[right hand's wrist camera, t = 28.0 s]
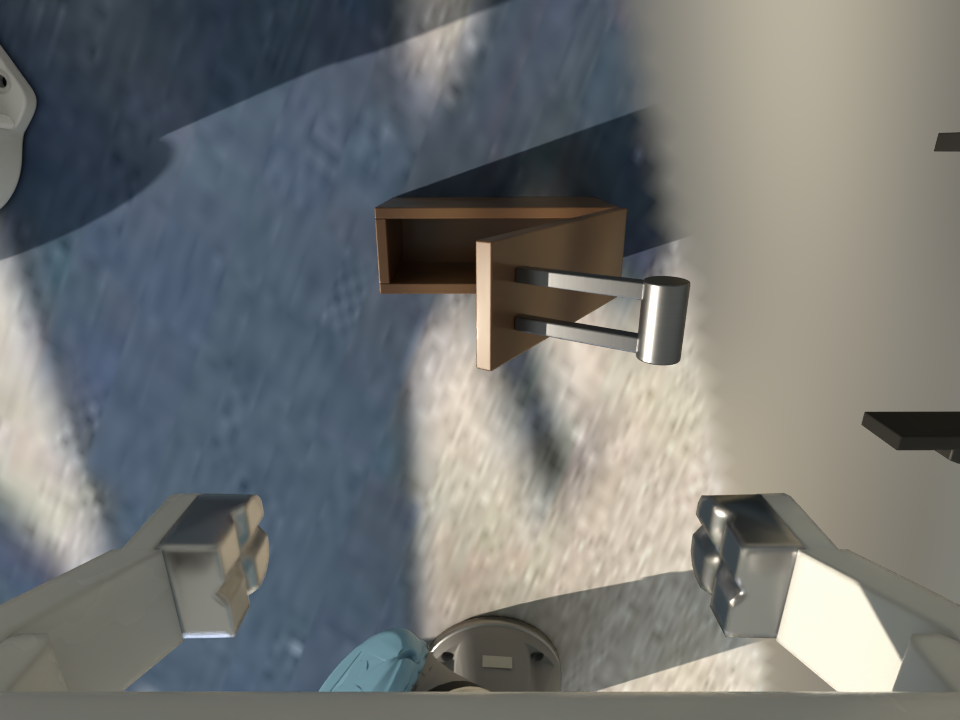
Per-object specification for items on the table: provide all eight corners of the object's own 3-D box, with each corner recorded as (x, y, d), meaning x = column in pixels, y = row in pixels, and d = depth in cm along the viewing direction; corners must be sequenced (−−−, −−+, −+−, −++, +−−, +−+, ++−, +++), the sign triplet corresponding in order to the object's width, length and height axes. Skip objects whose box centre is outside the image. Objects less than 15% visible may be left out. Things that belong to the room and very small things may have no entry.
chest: (396, 269, 47) (379, 294, 39) (392, 197, 45) (374, 207, 37) (590, 269, 47) (612, 293, 39) (595, 196, 45) (619, 206, 37)
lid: (475, 368, 26) (659, 411, 22) (475, 240, 24) (677, 259, 20) (608, 294, 39) (738, 312, 35) (615, 207, 37) (754, 214, 33)
